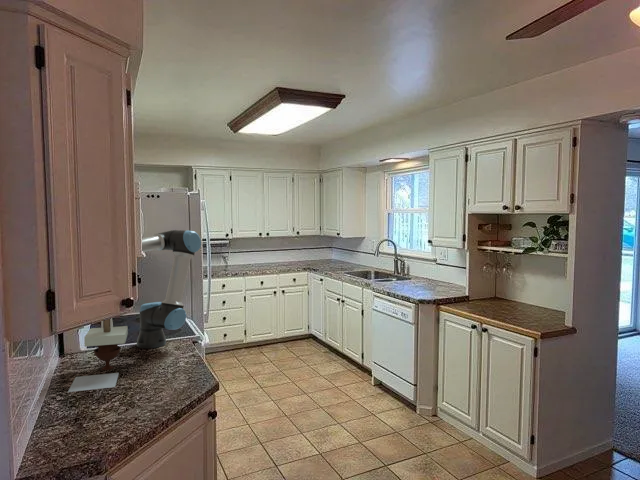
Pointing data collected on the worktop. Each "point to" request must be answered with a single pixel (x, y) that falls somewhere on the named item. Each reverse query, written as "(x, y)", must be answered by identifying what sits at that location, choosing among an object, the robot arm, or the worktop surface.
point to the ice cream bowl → (107, 354)
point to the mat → (94, 382)
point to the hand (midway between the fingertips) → (107, 327)
